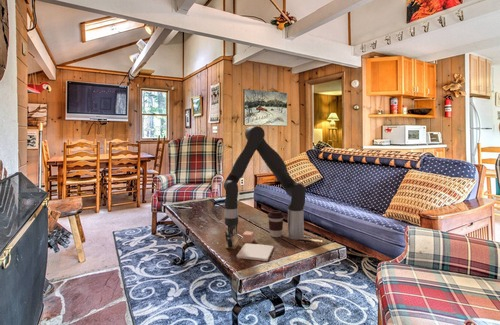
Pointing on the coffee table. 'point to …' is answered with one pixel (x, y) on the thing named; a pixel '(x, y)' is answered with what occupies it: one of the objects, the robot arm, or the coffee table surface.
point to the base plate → (255, 252)
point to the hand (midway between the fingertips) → (231, 245)
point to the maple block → (233, 242)
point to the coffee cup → (275, 223)
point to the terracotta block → (248, 237)
